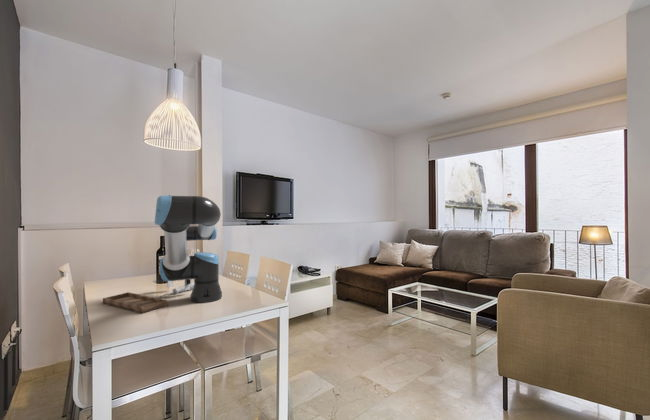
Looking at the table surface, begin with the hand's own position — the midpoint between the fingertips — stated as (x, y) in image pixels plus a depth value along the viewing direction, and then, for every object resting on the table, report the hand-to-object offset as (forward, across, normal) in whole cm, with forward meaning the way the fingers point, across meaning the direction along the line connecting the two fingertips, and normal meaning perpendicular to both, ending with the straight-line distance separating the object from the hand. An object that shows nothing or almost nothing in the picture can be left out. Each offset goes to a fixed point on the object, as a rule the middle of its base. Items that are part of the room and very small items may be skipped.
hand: (178, 288), depth 162 cm
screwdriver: (+3, 0, 0) cm, 3 cm away
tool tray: (+2, +1, +23) cm, 23 cm away
